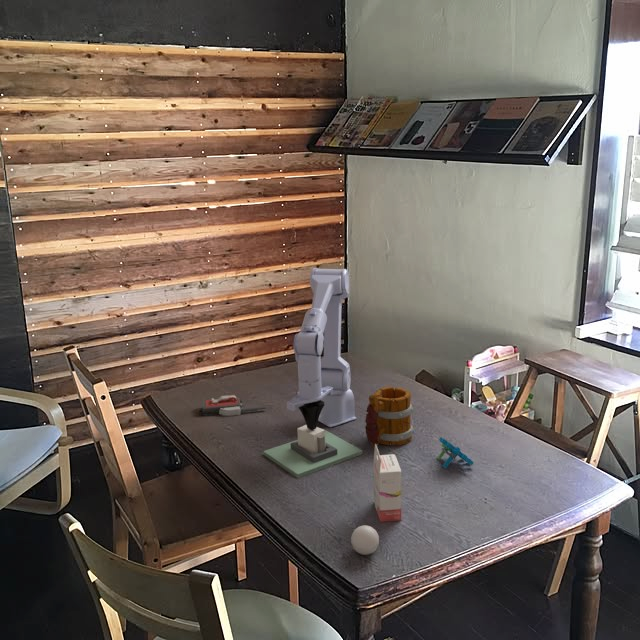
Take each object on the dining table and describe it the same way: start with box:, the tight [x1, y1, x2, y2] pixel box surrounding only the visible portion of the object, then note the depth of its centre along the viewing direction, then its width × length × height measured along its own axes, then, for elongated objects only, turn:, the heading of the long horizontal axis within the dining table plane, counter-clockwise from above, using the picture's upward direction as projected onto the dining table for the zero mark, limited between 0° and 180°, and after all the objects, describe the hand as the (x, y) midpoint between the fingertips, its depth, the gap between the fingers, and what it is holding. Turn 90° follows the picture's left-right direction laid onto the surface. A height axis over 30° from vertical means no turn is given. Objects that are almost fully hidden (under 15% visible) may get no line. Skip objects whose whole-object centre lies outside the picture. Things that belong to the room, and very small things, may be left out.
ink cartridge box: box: [373, 444, 402, 523], centre depth 156 cm, size 9×5×15 cm, turn 5°
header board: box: [262, 429, 363, 479], centre depth 186 cm, size 20×16×2 cm
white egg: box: [350, 524, 381, 556], centre depth 144 cm, size 8×6×6 cm
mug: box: [364, 386, 415, 447], centre depth 190 cm, size 11×16×15 cm, turn 137°
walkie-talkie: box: [198, 394, 268, 417], centre depth 216 cm, size 9×4×20 cm
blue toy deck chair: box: [437, 436, 474, 469], centre depth 177 cm, size 11×6×10 cm
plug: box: [296, 424, 326, 454], centre depth 185 cm, size 4×9×6 cm, turn 45°
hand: (311, 428), depth 184 cm, fingers closed
